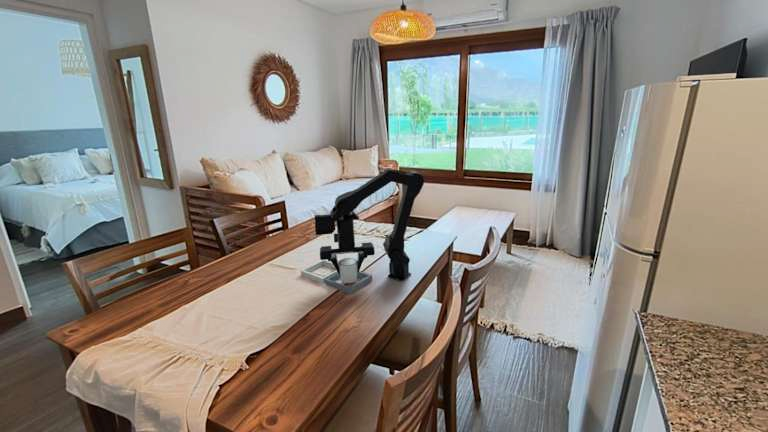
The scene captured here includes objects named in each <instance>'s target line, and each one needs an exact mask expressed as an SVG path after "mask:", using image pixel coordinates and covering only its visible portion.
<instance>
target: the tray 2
mask: <svg viewBox="0 0 768 432" xmlns="http://www.w3.org/2000/svg"><path fill="white" fill-rule="evenodd" d="M358 277H359V278H361V280H358V282H356V283H354V284H353V285H351V286H348V285H345V284H344V283H343V284H342V283H339V282H336V281H337V280H338V279H341V275H340V274H338V273H336V274H334V275H332V276H330V277H329V278H327V279H325V283H324V284H325V286H328V287H330V288H333V289H336V290H338V291H342V292H344V293H347V294H349V295H351V294H353V293H354V292H356V291H358V290H359V289H361V288H362V287H364V286H365V285H367V284H369V283H370V282H371V281H373V274H371V273H367V272H364V271H361V270H359V272H358V271H357V278H358Z"/></svg>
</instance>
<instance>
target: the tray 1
mask: <svg viewBox="0 0 768 432" xmlns="http://www.w3.org/2000/svg"><path fill="white" fill-rule="evenodd" d="M338 265H339V264H338ZM323 266H326V267H329V268H332V269H334V271H332V272H330V273H329V274H327V275H325V276H320V275H317V274H315V273H312V272H314V271H315V270H317V269H319V268H321V267H323ZM339 270H340V269H339ZM336 273H338V272H337V270H336V268H335V266H334V265H333V263H332V262H331V261H328V259H326V260H321V259H320V261H317V262H315V263H314V264H311V265H309V266H307V267H305V268H303V269H301V270H300V276H302V277H304V278H307V279H309V280H313V281H315V282H316V283H317V282H318V283H320V284H323V285H324V284H325V279H327V278H329V277H330V276H332V275H334V274H336Z"/></svg>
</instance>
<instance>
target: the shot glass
mask: <svg viewBox="0 0 768 432" xmlns="http://www.w3.org/2000/svg"><path fill="white" fill-rule="evenodd" d="M338 264H339V269H340V275H341V277H340V279H341V282H342V283H343V284H344V283H345V284H352V283H355V282H356V281H357V280H358V276H357V265H358V259H356V258H355V257H354V258H353V257H346V258H342V259H340V260H339V261H338Z"/></svg>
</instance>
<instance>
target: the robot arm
mask: <svg viewBox="0 0 768 432" xmlns="http://www.w3.org/2000/svg"><path fill="white" fill-rule="evenodd" d="M390 183H397V184H401V188H402V189H401V190H402V195H401V199H400V201H399V202H400V203H399V206H398V210H397V213H396V217H395V221H394V225H393V228H392V231H391V233H390V234H389V235H388V234H386V235H385V237H384V242H383V244H382V245H383V248H384V251H385V253H386V255H387V258H388V259H389V263H388V265H389V267H388V268H389V270H388V271H389V272H388V273H389V274H388V275H387V277H388V278H391V279H394V280H397V281H400V282H403V281H404V280H405V279H407V278H408V277H410V276H411V275H412V273H411V272H409V271H410V270H409V269H410V268H409V266H410V265H409V264H410V262H411V258H410V257H409V256H408V254H407V252H405V251H406V250H405V234H406V231H407V226H408V224H409V220H410V216H411V213H412V209H413V206H414V202H415V199H416V198H417V197H418V196H419V194H420V192H421V191H422V189H423V186H424V184H425V178H424V176H423V175H422V174H421V173H419V172H417V171H416V170H413V169H410V170H407V171H404V170H400V169H393V168H389V167H388V168H386V169H384V170H383V171H382V172H381V173H379V174H377V175H375V176H374V177H373V178H371V179H369V180H368V181H367V182H365V183H364V184H362V185H360V186H359V187H357V188H356V189H353V190H350V191H347V192H344V193H342V194H340V195H338V196H336V198H335V201H334V206H333V207H332V209H331V210H330V212H329V214H328V213H327V214H314V230H315V231H314V232H315V236H324V235H332V234H333V239H334V240H333V241H334V243H337V245H338V248H332V245H326V246H325V245H324V246H320V248H319V259H320V261H321V260H327V261H330V262H332V263H333V265H334V266H335V268H336V269H335V271H336V270H337V272H338V274H340V270H339V265H338V262H339V261H338V257H337V256H338V255H342V254H343V255H344V254H355V253H357V261H358V265H357V271H358V272H359V271H361V267H362V264H363V263H364V260H365V259H367V258H368V256H374V255H375V252H376V251H375V246H374V244H373V243H372V241H370V242H361V246H360V245H359V246H356V241H355V225H354V224H355V222H354V221H356V220H360V217H359V214H357V213H356V212H355V210H356V209H357V208H358V207H359V205H361V203H362V202H363V201H364V200H365V199H367V198H369V197H370V196H372V195H373V194H375V193H377V192H378V191H379V190H381V189H382V188H384V187H385V186H387V185H388V184H390ZM335 231H337V233H334V232H335Z"/></svg>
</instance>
